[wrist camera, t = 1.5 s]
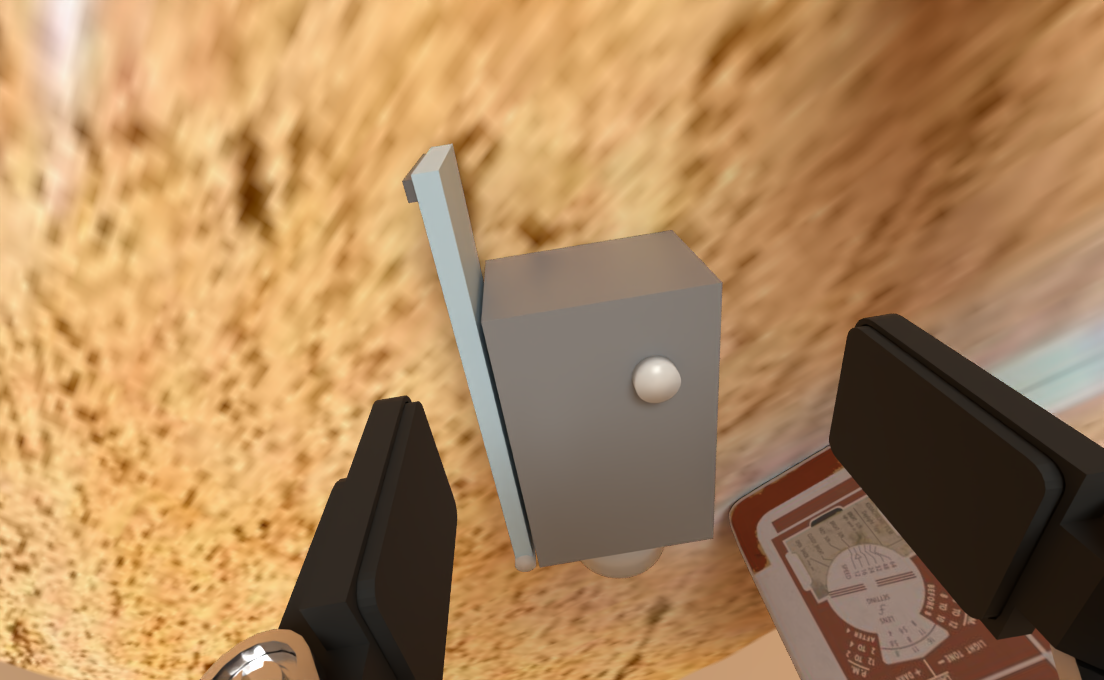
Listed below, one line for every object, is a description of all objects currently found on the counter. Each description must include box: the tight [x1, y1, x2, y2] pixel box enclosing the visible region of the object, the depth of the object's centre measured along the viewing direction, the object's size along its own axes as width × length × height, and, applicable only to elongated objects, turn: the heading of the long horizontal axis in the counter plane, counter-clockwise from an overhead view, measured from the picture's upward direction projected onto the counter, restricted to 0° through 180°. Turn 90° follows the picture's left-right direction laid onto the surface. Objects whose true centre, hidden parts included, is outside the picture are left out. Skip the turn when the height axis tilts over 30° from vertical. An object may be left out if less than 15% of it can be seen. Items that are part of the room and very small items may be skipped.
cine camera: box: [729, 446, 1060, 680], centre depth 28 cm, size 9×20×20 cm, turn 130°
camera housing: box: [481, 230, 722, 578], centre depth 28 cm, size 20×10×8 cm, turn 8°
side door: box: [402, 144, 536, 572], centre depth 26 cm, size 23×2×6 cm, turn 8°
